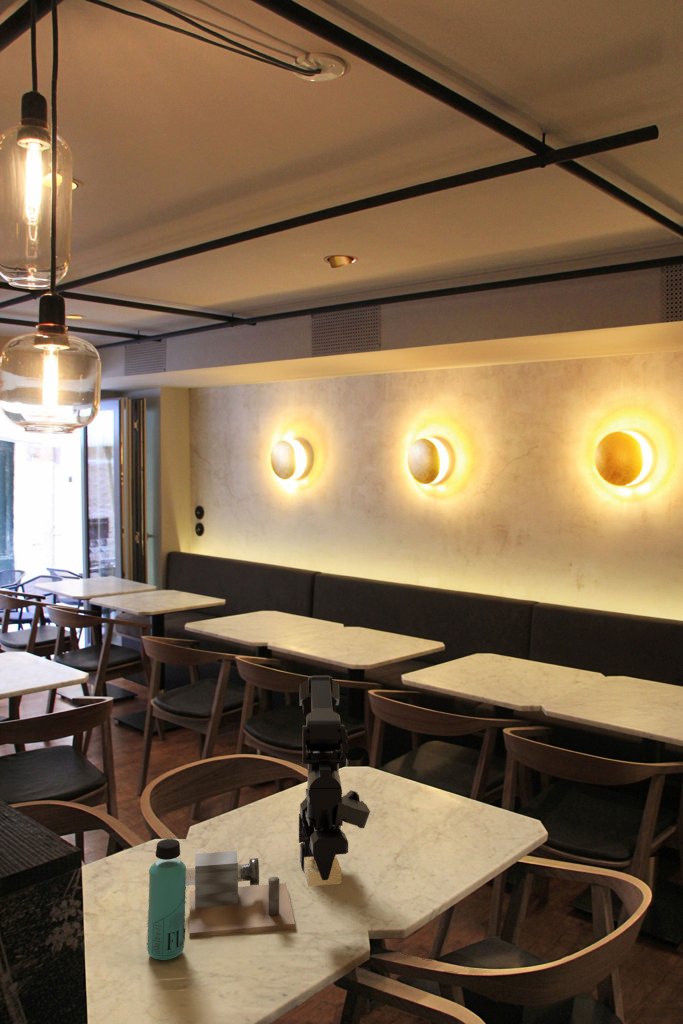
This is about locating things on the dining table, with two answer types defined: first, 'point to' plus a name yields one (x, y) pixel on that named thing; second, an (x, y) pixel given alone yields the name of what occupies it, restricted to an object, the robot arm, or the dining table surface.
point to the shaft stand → (234, 900)
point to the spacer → (314, 875)
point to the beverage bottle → (166, 902)
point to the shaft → (244, 873)
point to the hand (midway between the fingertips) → (322, 871)
